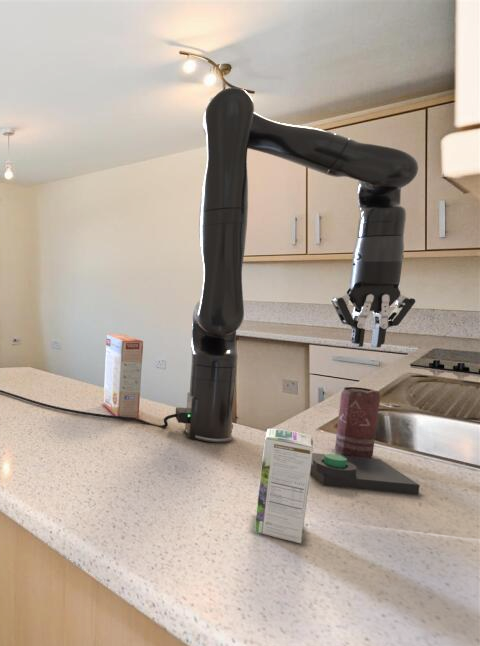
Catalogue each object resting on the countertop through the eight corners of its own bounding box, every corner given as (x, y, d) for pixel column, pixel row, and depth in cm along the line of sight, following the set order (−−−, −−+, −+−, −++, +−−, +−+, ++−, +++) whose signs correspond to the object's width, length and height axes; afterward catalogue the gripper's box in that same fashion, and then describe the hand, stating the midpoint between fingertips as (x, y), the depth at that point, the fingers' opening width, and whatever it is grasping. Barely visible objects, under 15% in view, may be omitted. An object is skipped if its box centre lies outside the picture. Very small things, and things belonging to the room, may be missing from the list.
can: (380, 461, 95) (389, 393, 93) (345, 458, 96) (352, 392, 94) (362, 450, 100) (370, 386, 98) (328, 448, 102) (335, 385, 100)
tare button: (328, 467, 84) (329, 459, 83) (320, 460, 87) (321, 452, 86) (349, 469, 83) (350, 461, 83) (340, 462, 86) (341, 454, 86)
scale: (320, 486, 83) (322, 467, 83) (293, 460, 95) (294, 443, 95) (420, 496, 79) (423, 477, 79) (378, 468, 91) (380, 450, 91)
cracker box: (140, 419, 123) (144, 340, 120) (117, 419, 123) (120, 340, 120) (123, 404, 136) (126, 333, 134) (102, 404, 136) (105, 333, 134)
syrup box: (256, 516, 73) (264, 426, 71) (303, 527, 70) (312, 434, 68) (254, 532, 68) (262, 437, 66) (303, 545, 65) (314, 445, 63)
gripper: (407, 260, 94) (396, 345, 97) (327, 261, 98) (318, 342, 100) (432, 259, 87) (420, 350, 89) (344, 260, 91) (335, 347, 93)
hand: (366, 346), depth 95 cm, fingers closed
